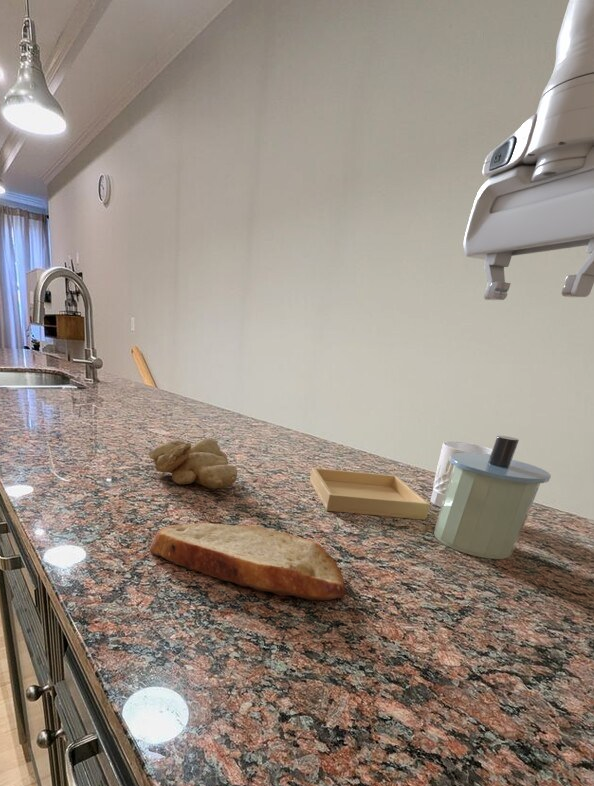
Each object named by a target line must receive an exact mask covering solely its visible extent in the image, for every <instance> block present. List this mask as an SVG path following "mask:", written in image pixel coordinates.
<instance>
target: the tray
mask: <svg viewBox="0 0 594 786" xmlns="http://www.w3.org/2000/svg"><path fill="white" fill-rule="evenodd" d="M309 482H310V485H311V486H312V488H313V489H314V491H315V493H316V495H317V496H318V499H319V501H320V503H321V504H322V505H323V507H324V509H325V511H327V512H336V513H348V514H359V515H369V516H378V517H380V516H381V517H392V518H401V519H412V520H423V521H426V520H427V517H428V514H429V510H430V508H431V503H430V502H428V501H427V499H425V498H423V496H421V495H420V494H419V493H418V492H417V491H415V489H413V488H412V487H411V486H410V485H408V484H407V483H406V482H405V481H404V480H402V478H400V477H399V476H397V475H396V474H383V473H374V472H364V471H363V472H362V471H353V470H342V469H331V468H321V467H320V468H319V467H311V471H310V477H309Z"/></svg>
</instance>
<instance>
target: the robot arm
mask: <svg viewBox="0 0 594 786" xmlns="http://www.w3.org/2000/svg"><path fill="white" fill-rule="evenodd" d="M536 109H537V110H536V113H535V114H533V115H531V116H530V117H529V118H528V119H526V121H524V123H523V124H522V125H521V126H520V127H519V128H518V129H516V131H514V132H513V133H512V134H511V135H510V136H508V137H507V138H506V139H505V140H504V141H502V142H501V143H500V144H498V145H497V146H496V147H495V148H493V150H491V151H490V152H489V153H488V154H487V156H486V157H485V159H484V162H483V166H482V171H481V174H482V176H483V177H486V178H488V179H486V180H485V181H484V183H483V184H482V185H481V186H480V187H479V190H478V191H477V194H476V196H475V198H474V201H473V204H472V206H471V211H470V214H469V216H468V217H469V218H468V222H467V225H466V228H465V234H464V238H463V242H462V243H463V244H462V248H463V251H464V255H465V256H466V257H467V258H472V259H477V260H484V265H483V268H484V273H485V279H486V283H487V284H486V289H485V291H484V294H483V299H485V301H486V300H487V301H504V300H506V298H507V297H508V291H510V288H511V287H510V286H511V282H506V278H505V277H506V276H505V268H508V267H509V266H510V264H511V260H512V257H515V256H524V255H529V254H537V253H543V252H545V253H546V252H550V251H559V250H566V249H572V248H580V247H586V246H587V248H586V250H585V252H586V254H590V255H589V256H588V257H587V258H586V260H585V261H584V262H583V264H582V265H581V267H580V268H579V269H578V271H577V272H576V273H575V274H570V275H569V274H568V275H567V276H566V278H565V281H564V286H563V288H562V290H561V296H562V297H565V298H587V297H588V296H589V295H590V294H591V291H592V289H593V287H594V0H568V3H567V6H566V9H565V13H564V15H563V19H562V22H561V27H560V29H559V33H558V37H557V40H556V46H555V63H554V67H553V71H552V73H551V76H550V78H549V80H548V82H547V84H546V85H545V87H544V89H543V91H542V93H541V95H540V99H539V102H538V106H537V108H536Z"/></svg>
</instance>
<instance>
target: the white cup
mask: <svg viewBox="0 0 594 786" xmlns="http://www.w3.org/2000/svg"><path fill="white" fill-rule="evenodd" d="M492 449H493V448H490V447H487V446H483V445H479V444H475V443H469V442H463V441H444V442H442V445H441V450H440V454H439V458H438V462H437V466H436V472H435V475H434V480H433V484H432V486H433V487H432V492H431V496H430V502H431V503H432V504H433V505H435V506H436V507H438V508H441V506H442V502H443V499H444V496H445V493H446V490H447V486H448V483H449V480H450V477H451V473H452V470H453V467H454V465H453V464H452V463H451V462H450V461H449V459H450V456H451V455H452V454H455V453H475V454H484V455H491V452H492Z"/></svg>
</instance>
